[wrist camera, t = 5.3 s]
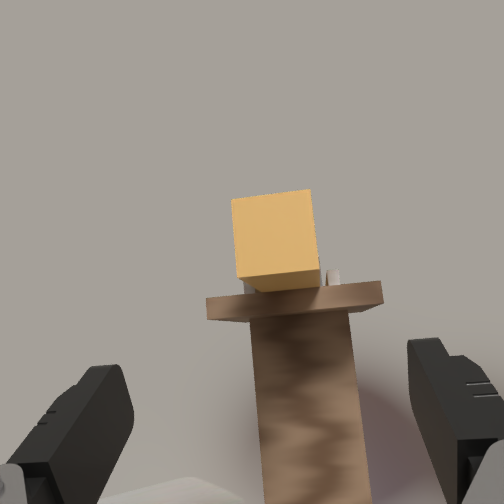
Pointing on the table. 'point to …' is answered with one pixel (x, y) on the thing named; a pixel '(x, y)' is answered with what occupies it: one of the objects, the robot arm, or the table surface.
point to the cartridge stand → (306, 388)
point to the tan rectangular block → (276, 241)
